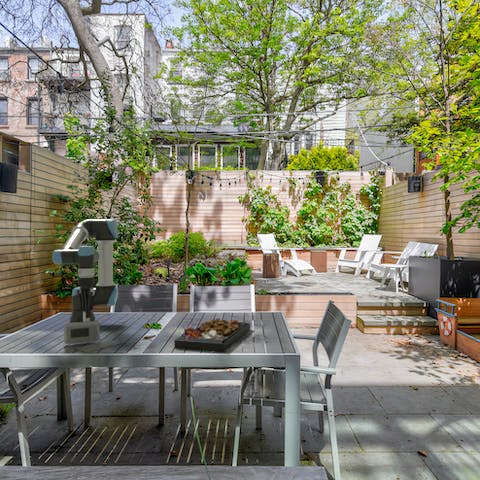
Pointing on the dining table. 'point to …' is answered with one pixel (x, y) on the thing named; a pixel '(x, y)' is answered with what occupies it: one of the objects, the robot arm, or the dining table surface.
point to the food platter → (212, 335)
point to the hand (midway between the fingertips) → (86, 324)
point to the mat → (97, 346)
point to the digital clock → (81, 332)
